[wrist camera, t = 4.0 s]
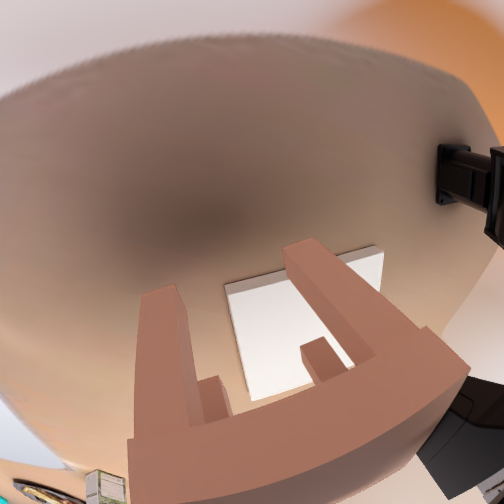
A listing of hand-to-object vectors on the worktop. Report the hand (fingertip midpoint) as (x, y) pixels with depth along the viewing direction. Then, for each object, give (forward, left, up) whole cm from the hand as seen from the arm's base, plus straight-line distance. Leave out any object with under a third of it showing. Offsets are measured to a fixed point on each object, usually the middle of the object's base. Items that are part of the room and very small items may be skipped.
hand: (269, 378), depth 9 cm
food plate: (+59, +59, -13) cm, 84 cm away
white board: (-7, +11, -13) cm, 18 cm away
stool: (0, 0, -3) cm, 2 cm away
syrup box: (+29, +38, -13) cm, 49 cm away
